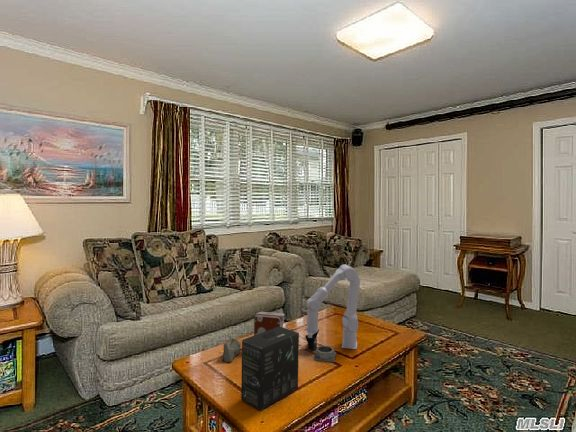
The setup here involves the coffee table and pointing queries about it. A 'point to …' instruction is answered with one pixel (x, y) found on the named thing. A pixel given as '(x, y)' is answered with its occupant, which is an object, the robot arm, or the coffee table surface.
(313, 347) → the lens
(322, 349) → the mount
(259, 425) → the coffee table surface
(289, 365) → the headset box
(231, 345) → the mineral rock
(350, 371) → the coffee table surface
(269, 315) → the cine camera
